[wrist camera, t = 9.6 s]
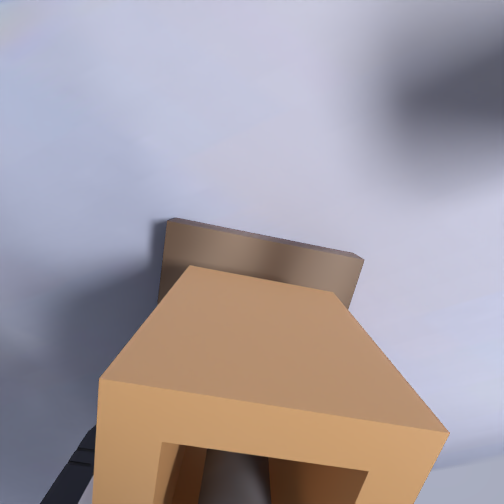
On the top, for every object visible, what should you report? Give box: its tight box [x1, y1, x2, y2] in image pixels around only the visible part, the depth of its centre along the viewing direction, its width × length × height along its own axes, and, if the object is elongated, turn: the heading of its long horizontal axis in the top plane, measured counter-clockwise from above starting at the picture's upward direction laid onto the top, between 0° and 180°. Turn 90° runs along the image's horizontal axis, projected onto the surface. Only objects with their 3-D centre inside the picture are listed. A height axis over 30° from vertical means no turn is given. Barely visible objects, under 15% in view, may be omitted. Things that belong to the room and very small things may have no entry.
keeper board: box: [157, 218, 364, 504], centre depth 11 cm, size 11×15×12 cm
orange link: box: [92, 265, 450, 504], centre depth 10 cm, size 12×7×7 cm, turn 168°
